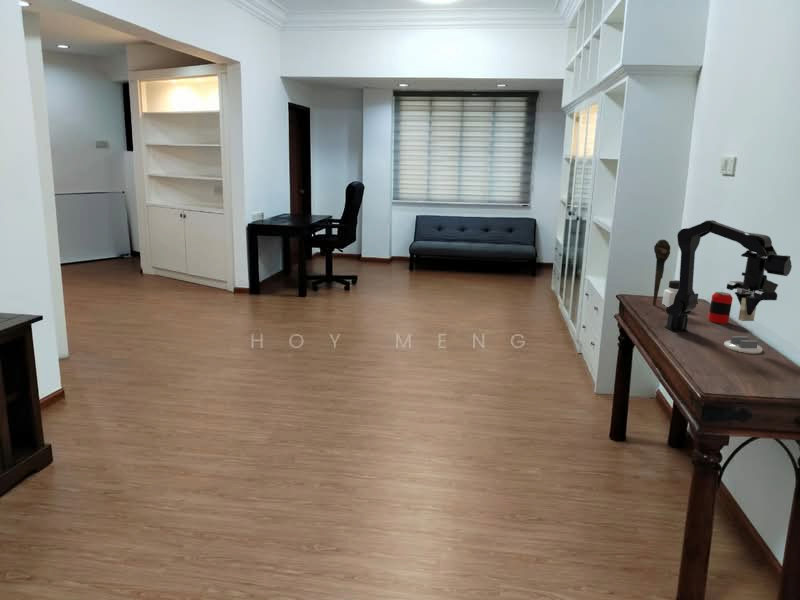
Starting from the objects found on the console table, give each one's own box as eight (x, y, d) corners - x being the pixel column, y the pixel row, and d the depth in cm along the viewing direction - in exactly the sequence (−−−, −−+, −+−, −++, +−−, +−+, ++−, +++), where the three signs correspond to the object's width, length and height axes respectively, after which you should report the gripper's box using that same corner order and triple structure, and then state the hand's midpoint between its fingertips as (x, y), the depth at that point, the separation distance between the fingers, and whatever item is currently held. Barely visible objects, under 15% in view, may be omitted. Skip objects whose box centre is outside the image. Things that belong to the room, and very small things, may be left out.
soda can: (704, 320, 252) (709, 292, 249) (714, 318, 256) (719, 290, 253) (721, 324, 246) (726, 296, 243) (731, 322, 250) (737, 294, 247)
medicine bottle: (684, 308, 269) (688, 282, 267) (668, 308, 270) (672, 282, 267) (677, 305, 276) (681, 279, 274) (661, 304, 276) (665, 278, 274)
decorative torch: (659, 307, 269) (669, 241, 262) (643, 304, 274) (653, 239, 266) (664, 305, 274) (674, 240, 267) (648, 302, 279) (658, 238, 271)
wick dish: (738, 353, 209) (740, 344, 208) (716, 342, 220) (718, 333, 219) (769, 353, 210) (771, 344, 209) (746, 343, 222) (748, 333, 221)
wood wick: (742, 320, 213) (745, 299, 211) (738, 319, 215) (742, 297, 213) (753, 320, 213) (757, 299, 212) (749, 319, 215) (753, 297, 213)
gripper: (795, 276, 202) (787, 321, 206) (757, 266, 220) (749, 307, 224) (765, 276, 200) (757, 321, 204) (729, 266, 218) (722, 307, 222)
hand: (746, 314), depth 214 cm, fingers closed on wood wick, 2 cm apart
